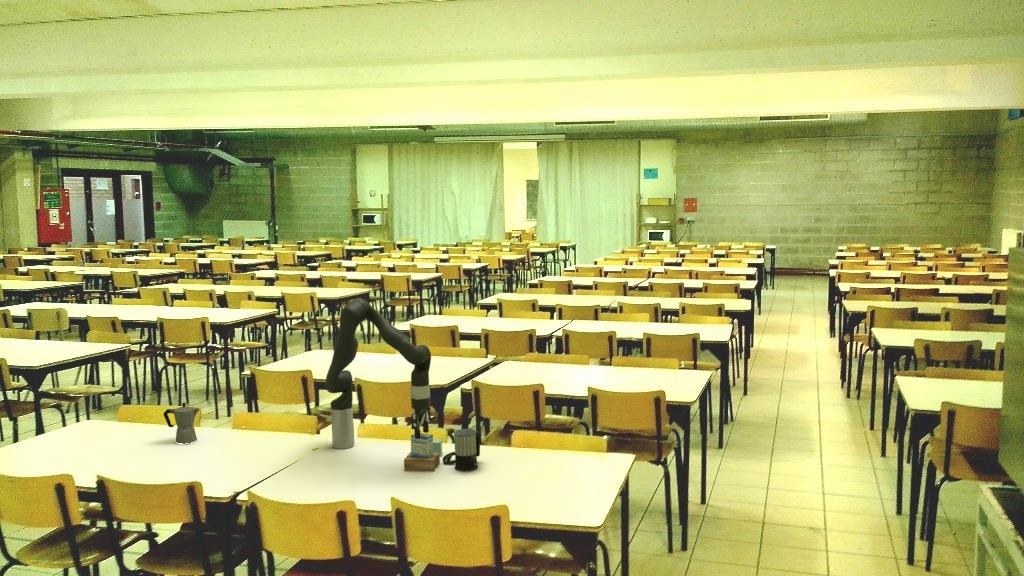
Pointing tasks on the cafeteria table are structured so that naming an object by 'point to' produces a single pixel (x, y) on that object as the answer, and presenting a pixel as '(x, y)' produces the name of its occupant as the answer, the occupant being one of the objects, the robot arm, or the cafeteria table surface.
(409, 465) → the walnut block
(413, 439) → the medicine box
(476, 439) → the milk frother
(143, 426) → the cafeteria table surface
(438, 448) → the teal block
